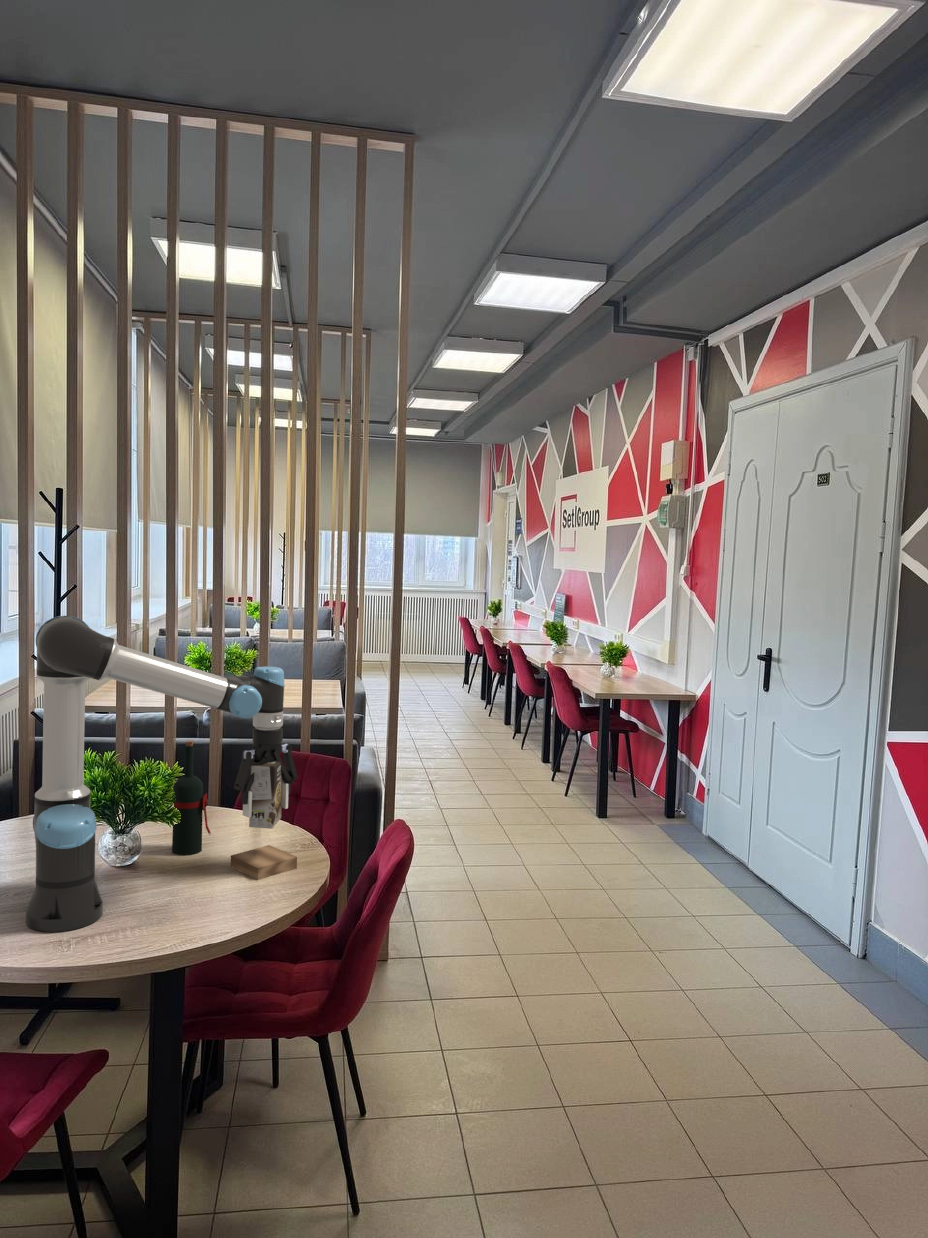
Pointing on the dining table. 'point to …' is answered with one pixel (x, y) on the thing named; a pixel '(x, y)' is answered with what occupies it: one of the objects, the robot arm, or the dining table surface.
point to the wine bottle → (189, 809)
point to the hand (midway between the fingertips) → (265, 811)
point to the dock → (263, 862)
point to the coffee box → (266, 795)
